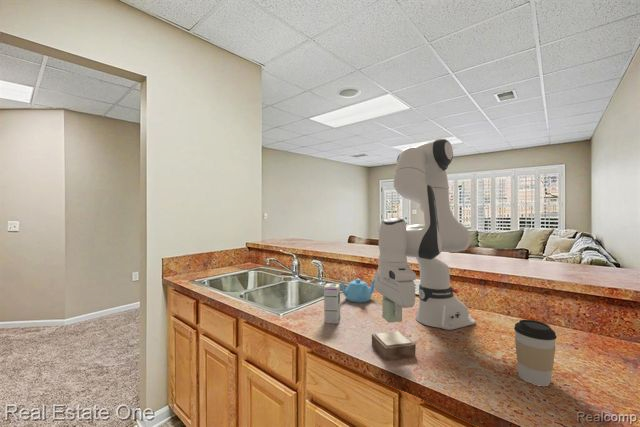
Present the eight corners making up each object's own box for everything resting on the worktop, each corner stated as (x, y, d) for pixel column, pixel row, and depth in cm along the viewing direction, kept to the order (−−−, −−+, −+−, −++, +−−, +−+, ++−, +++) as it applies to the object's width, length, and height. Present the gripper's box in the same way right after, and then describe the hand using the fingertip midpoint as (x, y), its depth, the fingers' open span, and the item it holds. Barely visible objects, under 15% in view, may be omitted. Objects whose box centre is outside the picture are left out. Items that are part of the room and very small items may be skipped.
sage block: (395, 316, 94) (395, 298, 94) (402, 321, 90) (402, 302, 90) (382, 317, 93) (382, 299, 93) (388, 322, 89) (388, 303, 89)
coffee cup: (537, 369, 81) (537, 316, 81) (565, 389, 72) (566, 329, 72) (505, 369, 81) (506, 316, 80) (530, 390, 71) (531, 330, 71)
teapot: (352, 293, 153) (352, 274, 153) (378, 298, 145) (378, 278, 145) (338, 300, 141) (338, 280, 141) (365, 306, 133) (365, 284, 133)
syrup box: (338, 324, 113) (338, 287, 112) (323, 322, 114) (323, 286, 114) (340, 318, 118) (340, 283, 118) (326, 317, 119) (326, 282, 119)
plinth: (399, 341, 98) (399, 329, 98) (415, 356, 88) (415, 343, 88) (371, 344, 95) (371, 332, 95) (385, 360, 86) (385, 347, 86)
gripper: (370, 264, 101) (370, 303, 101) (399, 276, 81) (399, 325, 81) (386, 263, 102) (386, 302, 102) (419, 275, 82) (419, 323, 82)
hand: (392, 312), depth 91 cm, fingers closed on sage block, 4 cm apart
